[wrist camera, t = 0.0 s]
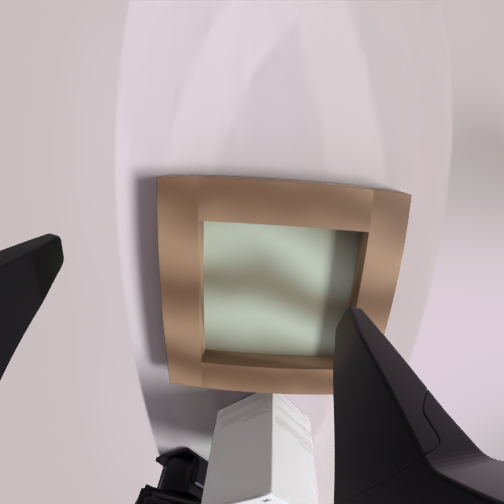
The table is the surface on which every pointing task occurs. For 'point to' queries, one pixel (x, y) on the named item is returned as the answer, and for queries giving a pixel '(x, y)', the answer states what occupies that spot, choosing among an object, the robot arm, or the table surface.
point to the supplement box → (261, 454)
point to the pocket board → (271, 276)
